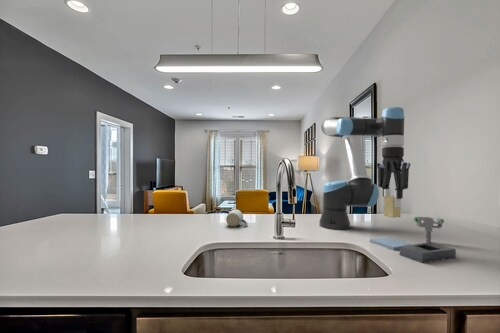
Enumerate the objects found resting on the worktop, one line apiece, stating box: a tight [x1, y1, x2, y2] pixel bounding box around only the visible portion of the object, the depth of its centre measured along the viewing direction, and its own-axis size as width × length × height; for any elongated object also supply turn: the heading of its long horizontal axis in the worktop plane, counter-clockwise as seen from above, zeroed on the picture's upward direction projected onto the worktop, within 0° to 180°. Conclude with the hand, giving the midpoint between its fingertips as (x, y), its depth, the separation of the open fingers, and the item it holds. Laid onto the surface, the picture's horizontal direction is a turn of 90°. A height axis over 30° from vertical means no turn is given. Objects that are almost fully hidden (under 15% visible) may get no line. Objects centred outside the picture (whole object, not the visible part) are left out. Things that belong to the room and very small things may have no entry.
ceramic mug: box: [225, 209, 249, 228], centre depth 127 cm, size 11×8×8 cm
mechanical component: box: [413, 216, 445, 243], centre depth 103 cm, size 3×10×10 cm, turn 78°
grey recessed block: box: [399, 241, 457, 264], centre depth 86 cm, size 8×16×3 cm, turn 110°
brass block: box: [383, 195, 401, 219], centre depth 99 cm, size 4×4×8 cm
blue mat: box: [369, 236, 414, 251], centre depth 99 cm, size 11×11×1 cm
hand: (392, 206), depth 99 cm, fingers closed on brass block, 4 cm apart
